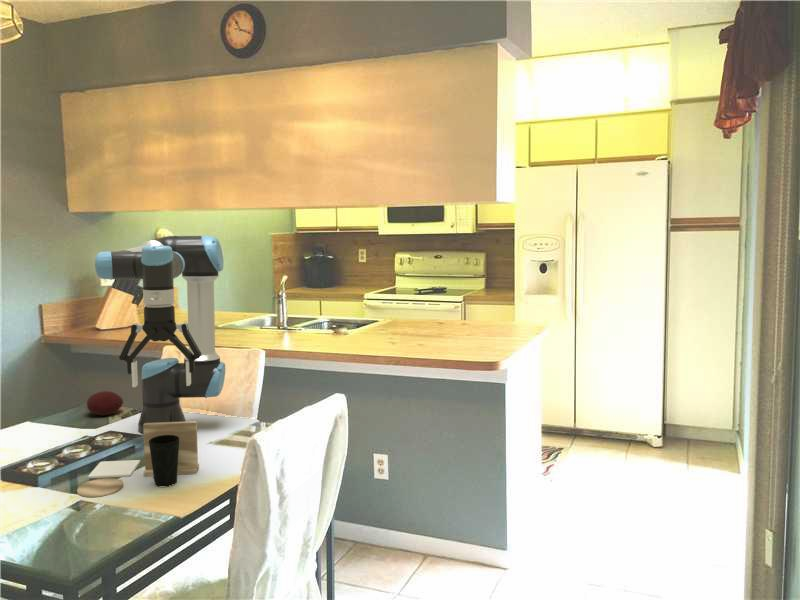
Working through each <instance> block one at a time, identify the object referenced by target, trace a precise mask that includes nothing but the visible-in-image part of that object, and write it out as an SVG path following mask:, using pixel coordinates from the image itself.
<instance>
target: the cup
mask: <svg viewBox="0 0 800 600" xmlns="http://www.w3.org/2000/svg"><path fill="white" fill-rule="evenodd" d="M149 447H150V454H151V461H152V468H153V480H154V485H155V486H156V485H157V486H156V487H159V486H167V487H170V486H169V485H171V486H173V485H172V484H174V485H175V484H177V483H178V480H177V479H178V474H177V469H178V453H179V437H178V436H175V435H161V436H157V437H154V438H152V439H150V440H149Z"/></svg>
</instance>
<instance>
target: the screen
mask: <svg viewBox="0 0 800 600" xmlns="http://www.w3.org/2000/svg"><path fill="white" fill-rule="evenodd" d="M197 425H198V423H197V421H196V420H193V421H189V420H188V421H186V422H159V423H144V424H143V432H144V434H143V451H144V454H143V455H144V471H143V476H144V477H147V476H146V475H153V468H152V461H151V454H150V447H149V440H150V439H152V438H154V437H157V436H161V435H175V436H178V437H179V453H178V469H177V475H193V474H194V475H195V474H197V473H198V470H199V468H200V463H199V456H198V455H199V454H198V451H199V450H198V426H197ZM153 476H154V475H153Z"/></svg>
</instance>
